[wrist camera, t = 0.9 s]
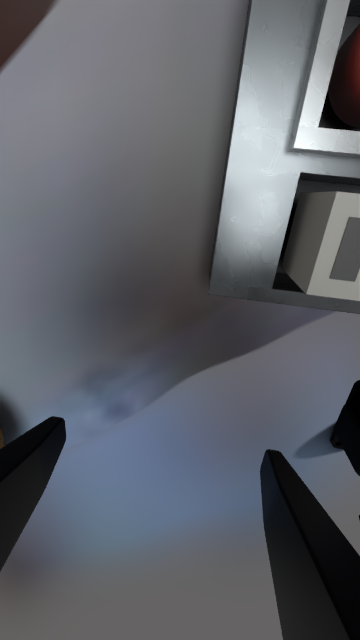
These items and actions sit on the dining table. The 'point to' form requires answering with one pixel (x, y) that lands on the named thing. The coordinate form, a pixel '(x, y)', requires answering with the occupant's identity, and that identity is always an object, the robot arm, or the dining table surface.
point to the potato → (1, 438)
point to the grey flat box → (279, 146)
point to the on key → (325, 245)
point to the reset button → (347, 81)
